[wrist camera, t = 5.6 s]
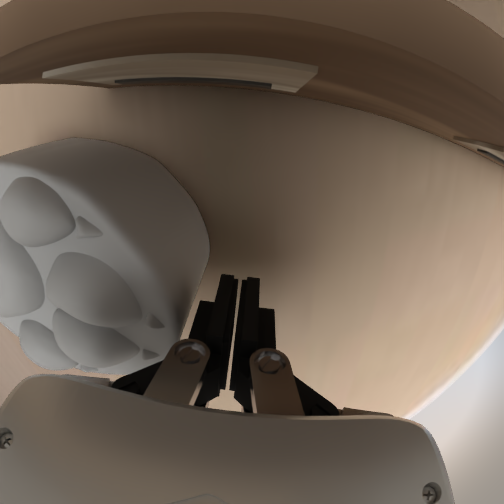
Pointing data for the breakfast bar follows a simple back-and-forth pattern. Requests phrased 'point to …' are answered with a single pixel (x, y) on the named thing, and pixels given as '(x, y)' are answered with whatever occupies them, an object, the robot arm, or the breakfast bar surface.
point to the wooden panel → (276, 54)
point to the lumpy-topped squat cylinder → (96, 255)
